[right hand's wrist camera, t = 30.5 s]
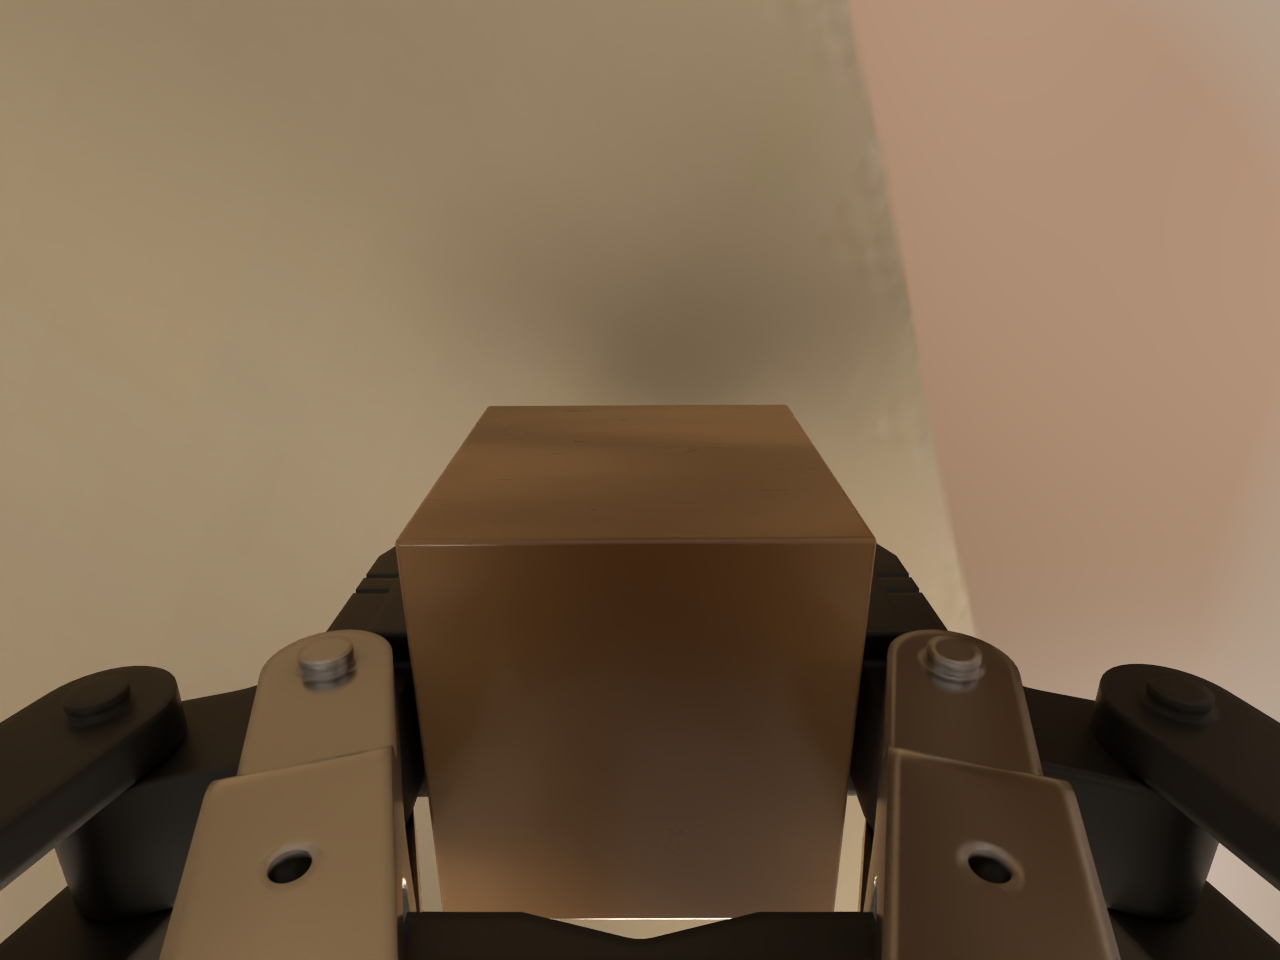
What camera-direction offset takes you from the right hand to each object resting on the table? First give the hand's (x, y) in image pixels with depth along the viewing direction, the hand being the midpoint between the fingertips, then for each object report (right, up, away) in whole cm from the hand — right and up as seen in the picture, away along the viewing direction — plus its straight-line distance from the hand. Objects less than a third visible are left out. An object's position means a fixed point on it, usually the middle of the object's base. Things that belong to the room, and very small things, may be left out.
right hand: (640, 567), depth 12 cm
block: (0, 0, 0) cm, 1 cm away
